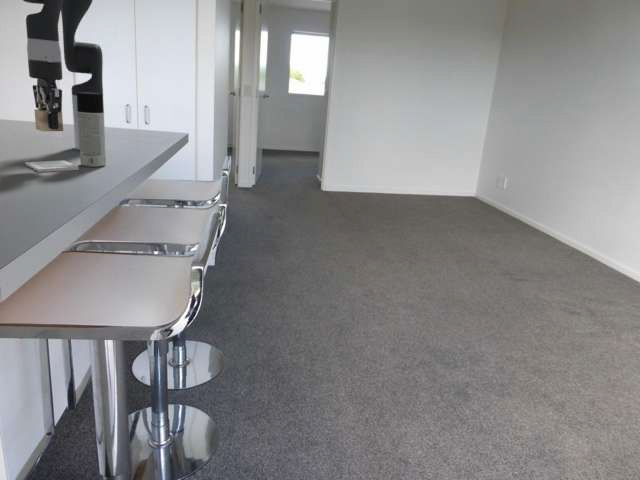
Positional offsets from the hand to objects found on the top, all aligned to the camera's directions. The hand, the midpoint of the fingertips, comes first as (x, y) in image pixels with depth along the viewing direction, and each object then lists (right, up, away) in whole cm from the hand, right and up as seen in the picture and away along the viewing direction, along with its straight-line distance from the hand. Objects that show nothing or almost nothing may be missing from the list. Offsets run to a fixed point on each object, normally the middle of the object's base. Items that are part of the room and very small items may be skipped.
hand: (49, 127), depth 132 cm
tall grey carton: (+6, -9, +11) cm, 15 cm away
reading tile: (-1, -10, +3) cm, 11 cm away
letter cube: (0, -1, 0) cm, 1 cm away
